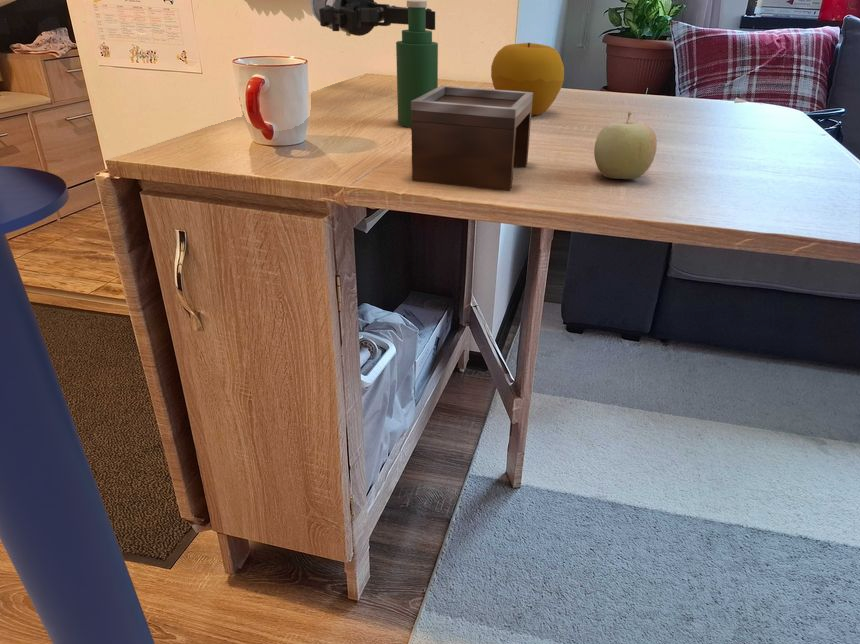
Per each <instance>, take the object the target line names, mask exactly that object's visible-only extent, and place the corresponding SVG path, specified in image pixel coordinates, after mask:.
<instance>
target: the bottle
mask: <svg viewBox="0 0 860 644" xmlns="http://www.w3.org/2000/svg"><path fill="white" fill-rule="evenodd" d="M427 6H428V0H406V8H408V25H407V26H408V27H407V28H408V29H401V40H398V41H395V53H396V95H397V98H396V100H397V124H398V126H401V127H404V128H408V129H409V128H410V129H411V101H412V100H414V99H416V98H418V97H420V96H422V95H424V94H426V93H428V92H430V91H432V90H434V89H436V88H438V87H439V86H438V85H439V84H438V83H439V82H438V81H439V80H438V79H439V77H438V76H439V74H438V73H439V72H438V71H439V43H438V42H437V41H433V30H429V29H426V11H425V9H427Z"/></svg>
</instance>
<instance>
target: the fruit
mask: <svg viewBox="0 0 860 644" xmlns="http://www.w3.org/2000/svg"><path fill="white" fill-rule="evenodd" d="M631 115H632V111H628V112H627V120H621V121H615V122H610V123H608V124H606V125H605V126H604V127H602V128H601V130H600V131H599V133H598V135H597V136H596V140H595V143H594V150H593V151H594V152H593V153H594V155H593V157H594V161H595V165H596V168H597V169H598V171H599V172H600V173H601V174H602V175H603V176H605V177H606V178H609V179H614V180H615V179H616V180H621V179H622V180H632V179H638V178H641V177H642V176H644V175H645V174H646V172H647V171H648V170H649V169H650V168H651V166H652V164H653V162H654V160H655V156H656V153H657V149H658V147H657V145H658V140H657V136H656V133H655V131H654V129H653V128H652V127H651V126H650V125H649V124H647V123H643V122H640V121H638V120H637V121H636V120H630V117H631Z"/></svg>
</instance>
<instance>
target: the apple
mask: <svg viewBox="0 0 860 644" xmlns="http://www.w3.org/2000/svg"><path fill="white" fill-rule="evenodd" d="M490 78H491V82H492V86H493V88H494V90H507V91H520V92H533V100H532V113H531V117H532V116H538V115H539V116H540V115H542V114H544V113H546V112H547V111H548V110H549V108H550V107H551V106H552V104H554V102H555V100H556V99H557V97H558V95H559V93H560V91H561V89H562V88H563V84H564V80H565V66H564V63H563V61H562V57H561V54H560V53H559V52H558V51H557V49H556V48H555V47H551V46H549V45H546V44H540V43H536V42H535V43H534V42H522V43H511V44H506V45H504V46H503V47H502V48H500V49H499V50H498V51H497V53H496V54H495V56H494V57H493V60H492V63H491V65H490Z"/></svg>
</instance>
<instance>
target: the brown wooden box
mask: <svg viewBox="0 0 860 644" xmlns="http://www.w3.org/2000/svg"><path fill="white" fill-rule="evenodd" d="M532 100H533V92H520V91H507V90H495V88H494V89H491V88H479V87H467V86H466V87H465V86H453V85H452V86H451V85H439V86H438V88H436V89H434V90H432V91H430V92H428V93H426V94H424V95H422V96H420V97H418V98H416V99H414V100H412V101H411V128H410V130H411V133H410V134H411V181H416V182H425V183H436V184H443V185H453V186H463V187H472V188H481V189H492V190H500V191H510V192H511V190H512V188H513V181H514V180H513V178H514V167H520V168H526V167H527V166H528V162H529V161H528V160H529V150H530V149H529V147H530V137H531V125H532V124H531V123H532V116H531V113H532Z"/></svg>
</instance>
